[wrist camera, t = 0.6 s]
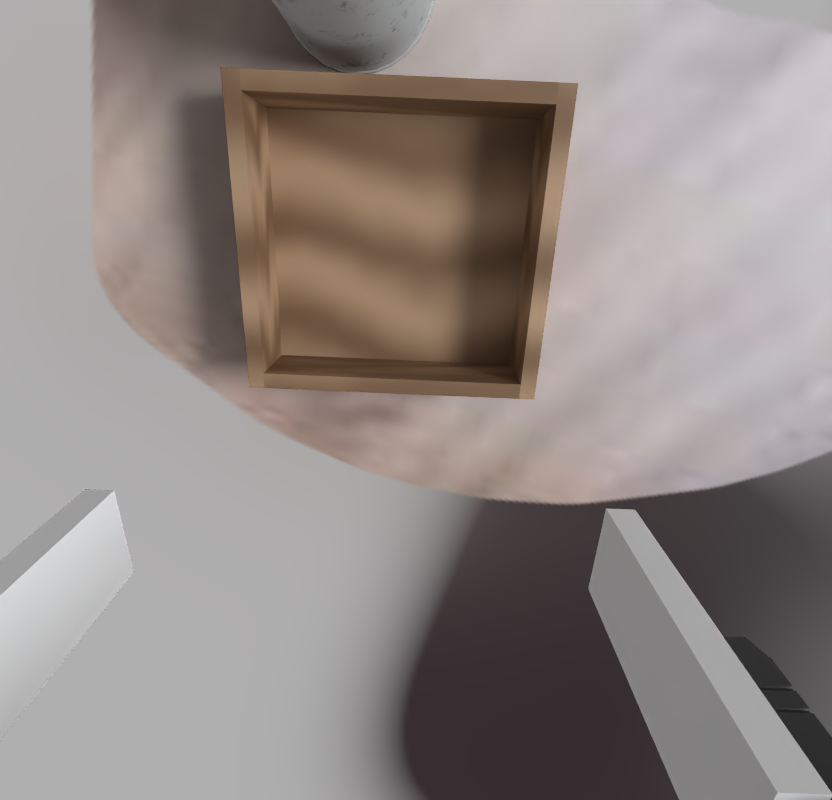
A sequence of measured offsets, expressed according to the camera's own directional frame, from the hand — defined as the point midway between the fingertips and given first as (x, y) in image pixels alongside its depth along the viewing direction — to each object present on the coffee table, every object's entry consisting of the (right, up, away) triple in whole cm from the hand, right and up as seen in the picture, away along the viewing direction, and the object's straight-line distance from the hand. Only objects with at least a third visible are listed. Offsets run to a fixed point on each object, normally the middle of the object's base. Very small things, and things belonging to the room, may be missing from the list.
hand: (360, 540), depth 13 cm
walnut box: (0, +15, +21) cm, 25 cm away
